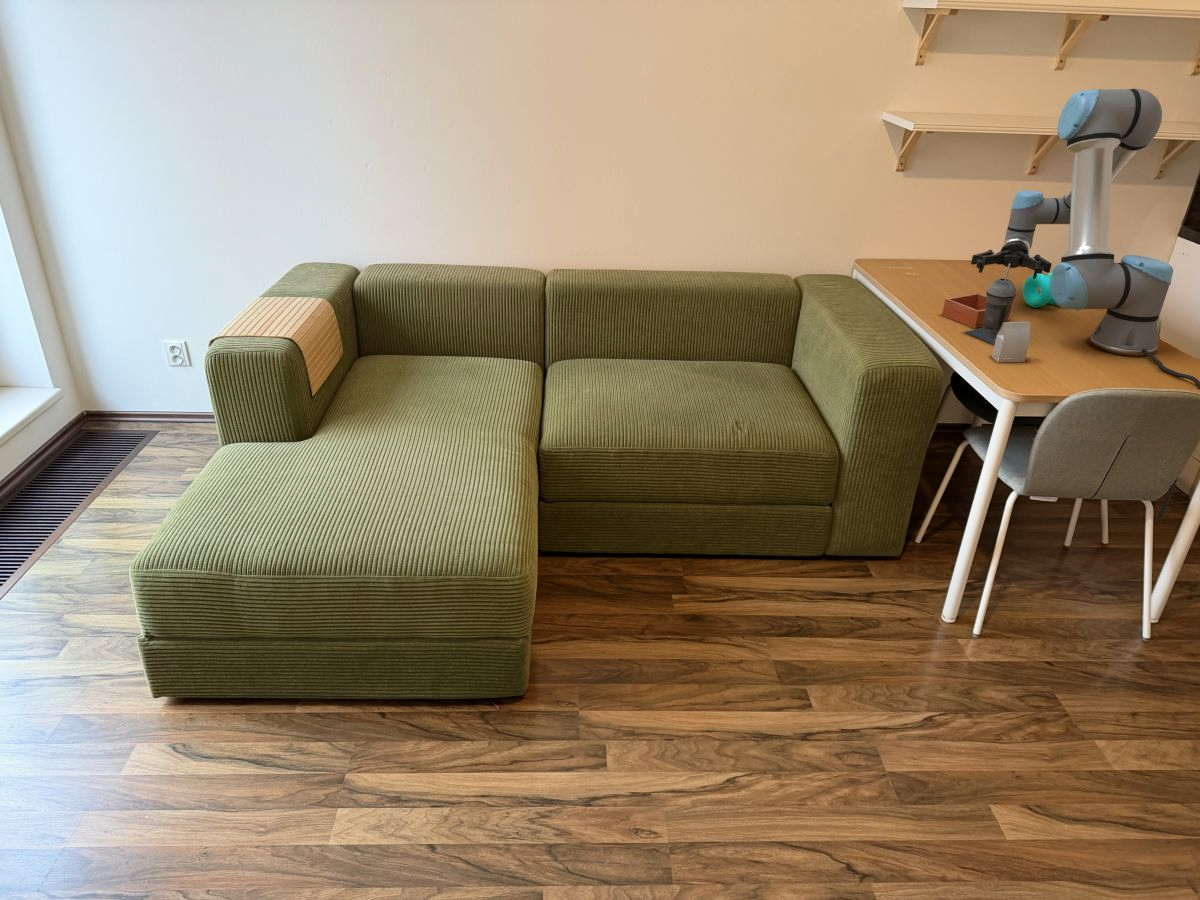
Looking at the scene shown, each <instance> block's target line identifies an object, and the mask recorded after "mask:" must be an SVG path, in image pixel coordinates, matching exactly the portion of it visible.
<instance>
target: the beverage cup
mask: <svg viewBox="0 0 1200 900" xmlns="http://www.w3.org/2000/svg"><path fill="white" fill-rule="evenodd" d="M1010 265H1011V264H1009V265H1008V267H1006V272H1005V276H1004V277H1003V278H998V279H996V280H995V279H994V281H992V282H991V284H990V285H989V286H988V288H987V291H986V292H985V293H986V295H985V296H986V300H987V302H986V309H985V317H984V325H983V327H982V328H983V335H985V336H987V337H994V338H995V337H997V334H998V332H999V331H1000V329H1001V327H1002V324H1003V322H1006V319H1007V316H1008V313H1009V310H1010V307H1011V305H1012V304H1013V302H1014V300H1015V298H1016V296H1017V294H1016V293H1017V288H1016V286H1015V284H1014V282H1013V281H1012V280H1010V279H1008V276H1009V272H1010V269H1011V268H1010ZM1011 308H1012V307H1011Z"/></svg>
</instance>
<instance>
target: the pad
mask: <svg viewBox="0 0 1200 900" xmlns="http://www.w3.org/2000/svg"><path fill="white" fill-rule="evenodd" d="M965 334H966V335H969V336H971V337H973V338H975V339H978V340H980V341H982V342H985V343H988V344H990V345H993V346H994V345H995V341H996V337H995V338H994V337H987V336H985V335H983V327H981V328H976V329H971V330H967V331H965Z"/></svg>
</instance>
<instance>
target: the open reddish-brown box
mask: <svg viewBox="0 0 1200 900" xmlns="http://www.w3.org/2000/svg"><path fill="white" fill-rule="evenodd" d="M986 302H987V300H986V295H985V294H982V293H979V292H976V293H970V294H964V295H959V296H954V297H949V298H945V299H944V302H943V307H942V311H941V312H942V313H941V316H942V317H945V318H948V319H951V320H952V321H956V322H958V323H960V324H962V325H965V326H967V327H970V328H972V329H981V328H983V325H984V317H985V309H986ZM1012 307H1013V305H1012V304H1011V307H1010V310H1009V313H1008V316H1007V319H1006V322H1009V320H1010V316H1011V312H1012Z"/></svg>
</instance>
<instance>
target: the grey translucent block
mask: <svg viewBox="0 0 1200 900" xmlns="http://www.w3.org/2000/svg"><path fill="white" fill-rule="evenodd" d="M1031 325H1032V322H1031V321H1008V322H1003V324H1002V327H1001V329H1000V331H999V332H998V334H997V337H996V341H995V345H993V350H992V354H991V358H992V359H993V360H994V361H996V362H997V363H1025V362H1026V358H1027V354H1028V350H1029V346H1030V342H1031ZM995 355H996V356H997V357H996V356H995ZM999 358H1001V359H999ZM1003 358H1007V359H1003ZM1008 358H1011V359H1008Z"/></svg>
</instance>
